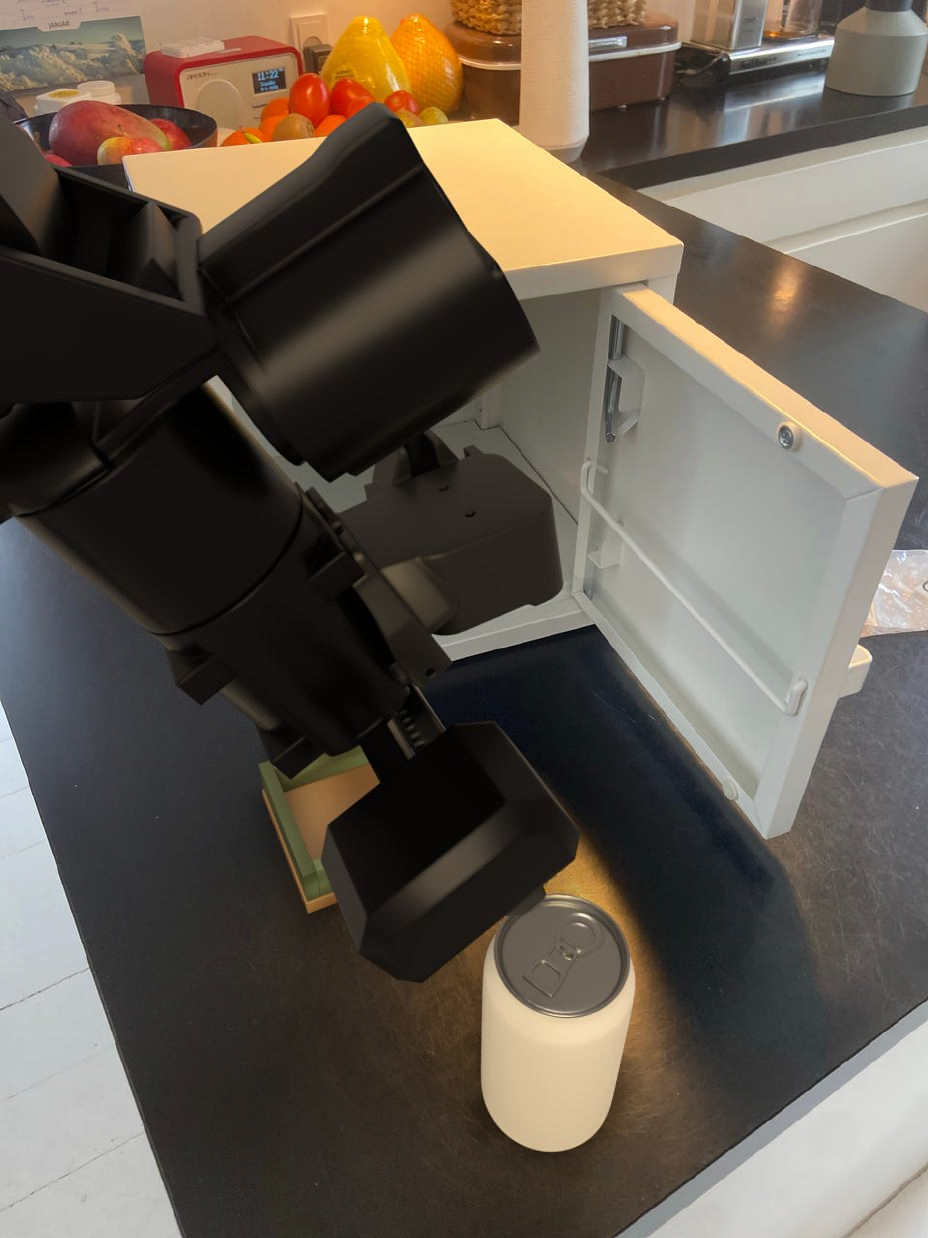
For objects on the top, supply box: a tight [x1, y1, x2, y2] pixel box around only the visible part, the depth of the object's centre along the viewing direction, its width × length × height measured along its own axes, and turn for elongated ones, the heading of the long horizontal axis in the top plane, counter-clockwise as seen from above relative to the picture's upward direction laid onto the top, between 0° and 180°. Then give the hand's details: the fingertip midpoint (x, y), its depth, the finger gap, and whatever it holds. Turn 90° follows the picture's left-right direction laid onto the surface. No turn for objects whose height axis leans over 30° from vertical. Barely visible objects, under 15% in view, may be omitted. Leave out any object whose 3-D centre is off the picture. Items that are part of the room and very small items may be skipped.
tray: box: [257, 746, 415, 914], centre depth 56 cm, size 9×9×4 cm
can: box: [480, 893, 636, 1153], centre depth 41 cm, size 6×6×12 cm
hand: (477, 815), depth 35 cm, fingers open, 9 cm apart
